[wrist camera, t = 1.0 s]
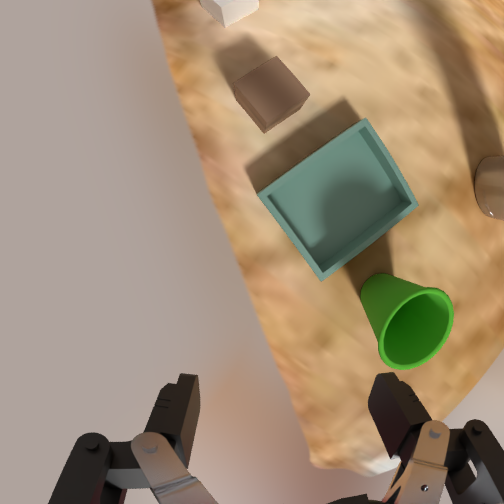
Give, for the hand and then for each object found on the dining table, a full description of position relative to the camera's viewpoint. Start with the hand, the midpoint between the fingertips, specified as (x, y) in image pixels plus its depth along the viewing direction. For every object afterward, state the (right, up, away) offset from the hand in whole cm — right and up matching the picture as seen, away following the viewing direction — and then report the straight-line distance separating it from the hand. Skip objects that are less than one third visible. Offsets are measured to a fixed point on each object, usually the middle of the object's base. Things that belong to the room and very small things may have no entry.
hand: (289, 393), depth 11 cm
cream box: (-4, +36, +14) cm, 39 cm away
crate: (+8, +12, +20) cm, 25 cm away
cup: (+14, +1, +23) cm, 27 cm away
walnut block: (0, +22, +17) cm, 28 cm away
